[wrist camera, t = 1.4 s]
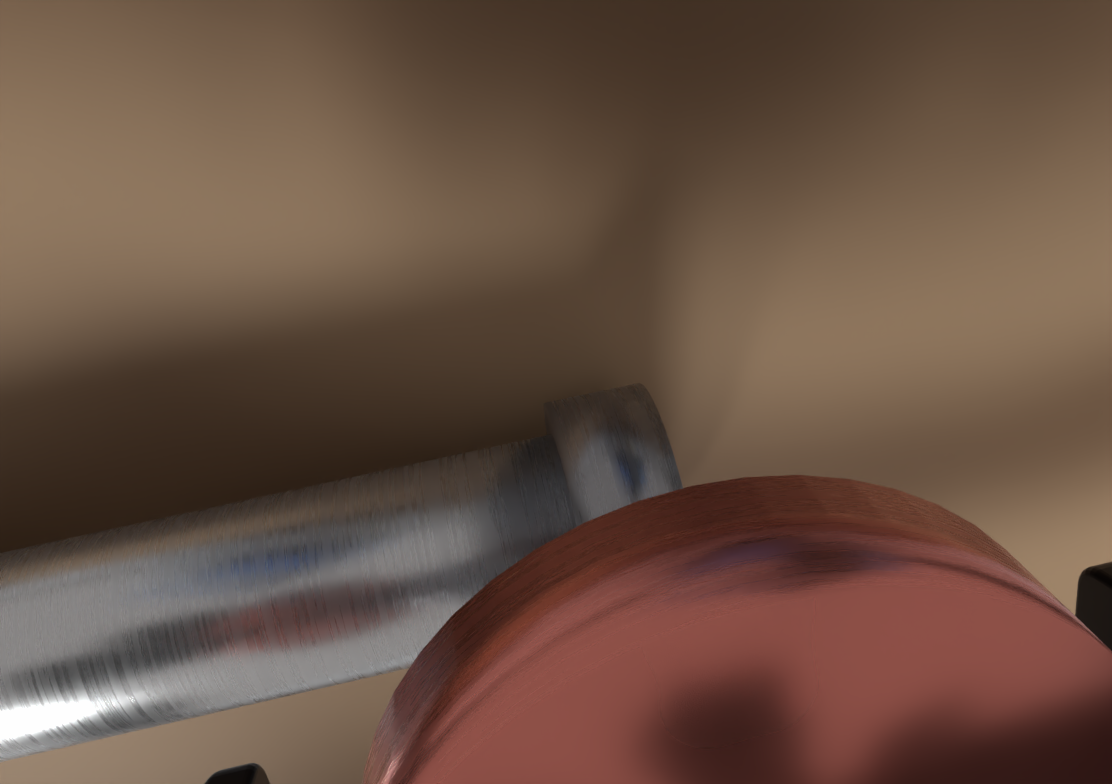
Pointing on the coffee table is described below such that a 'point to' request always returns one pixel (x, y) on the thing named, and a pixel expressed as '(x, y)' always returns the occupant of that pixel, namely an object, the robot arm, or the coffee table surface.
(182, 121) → the walnut board
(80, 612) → the silver and red piece
